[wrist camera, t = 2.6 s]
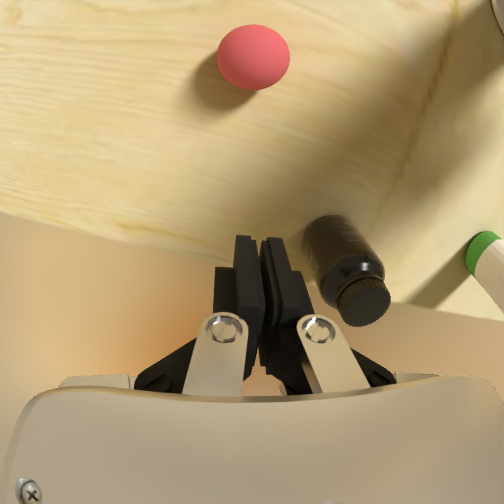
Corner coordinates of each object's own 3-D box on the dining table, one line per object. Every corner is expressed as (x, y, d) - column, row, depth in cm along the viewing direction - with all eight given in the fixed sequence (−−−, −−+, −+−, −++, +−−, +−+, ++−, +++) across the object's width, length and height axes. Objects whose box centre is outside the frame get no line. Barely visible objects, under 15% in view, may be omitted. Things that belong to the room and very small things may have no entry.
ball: (256, 20, 21) (262, 4, 16) (296, 66, 23) (312, 62, 18) (204, 56, 22) (198, 49, 17) (245, 101, 25) (249, 106, 20)
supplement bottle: (337, 269, 36) (370, 340, 26) (290, 252, 35) (314, 328, 25) (366, 225, 33) (414, 289, 23) (319, 203, 31) (359, 268, 21)
